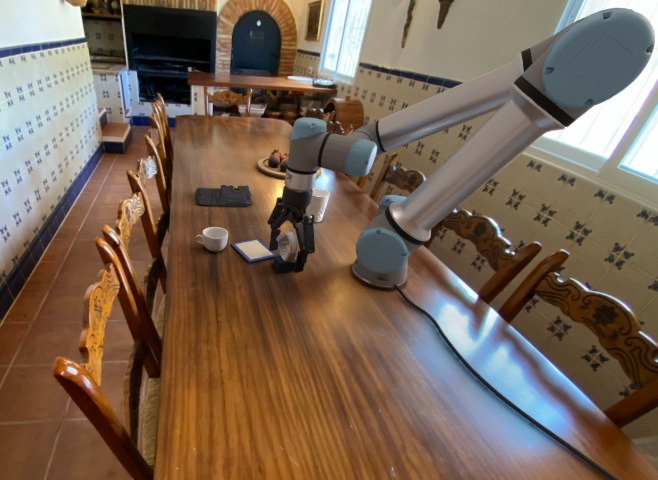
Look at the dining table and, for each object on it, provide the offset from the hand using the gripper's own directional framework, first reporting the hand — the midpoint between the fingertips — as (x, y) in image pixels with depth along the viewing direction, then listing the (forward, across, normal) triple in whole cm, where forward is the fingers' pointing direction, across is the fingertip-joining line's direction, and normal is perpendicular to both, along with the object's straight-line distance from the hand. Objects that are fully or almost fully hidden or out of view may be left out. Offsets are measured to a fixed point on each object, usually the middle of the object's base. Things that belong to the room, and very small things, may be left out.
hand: (285, 260), depth 104 cm
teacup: (+3, -18, -15) cm, 24 cm away
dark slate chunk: (+3, -53, +6) cm, 53 cm away
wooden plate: (+3, -76, +54) cm, 93 cm away
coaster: (+3, -12, -4) cm, 13 cm away
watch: (+3, 0, 0) cm, 3 cm away
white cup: (+3, -25, +30) cm, 39 cm away
